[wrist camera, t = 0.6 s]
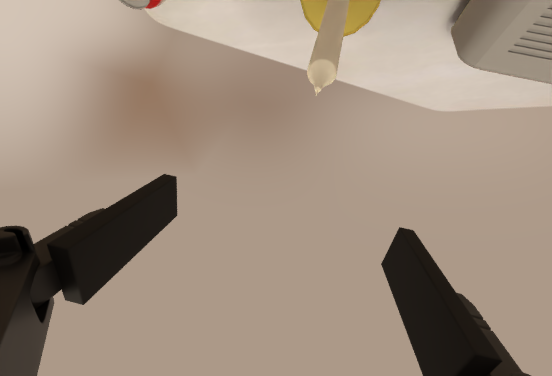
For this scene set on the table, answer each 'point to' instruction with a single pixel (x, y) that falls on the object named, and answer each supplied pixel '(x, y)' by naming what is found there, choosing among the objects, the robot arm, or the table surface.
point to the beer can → (142, 3)
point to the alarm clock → (507, 37)
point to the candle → (333, 33)
